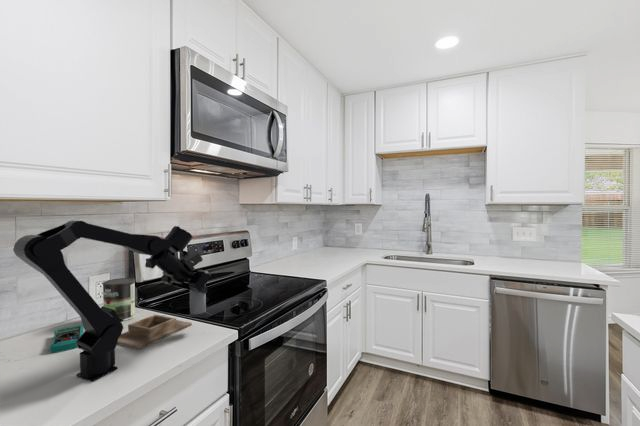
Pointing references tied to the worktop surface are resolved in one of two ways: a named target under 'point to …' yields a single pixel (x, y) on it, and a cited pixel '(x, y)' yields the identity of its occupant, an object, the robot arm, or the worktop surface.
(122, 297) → the coffee can
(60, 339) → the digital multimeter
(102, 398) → the worktop surface
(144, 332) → the dock
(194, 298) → the grey upright cylinder
